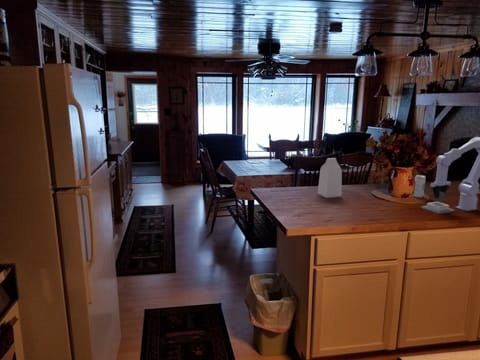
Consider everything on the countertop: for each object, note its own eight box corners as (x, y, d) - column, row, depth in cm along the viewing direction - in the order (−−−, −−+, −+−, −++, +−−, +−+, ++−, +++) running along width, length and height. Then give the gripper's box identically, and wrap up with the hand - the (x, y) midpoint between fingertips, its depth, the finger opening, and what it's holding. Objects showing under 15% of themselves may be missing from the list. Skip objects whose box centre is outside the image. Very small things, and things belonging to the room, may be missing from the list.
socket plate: (435, 205, 232) (436, 200, 231) (454, 211, 220) (455, 205, 220) (420, 208, 227) (421, 202, 226) (439, 214, 215) (439, 208, 215)
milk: (332, 192, 264) (334, 156, 259) (341, 196, 254) (343, 159, 248) (317, 193, 261) (319, 157, 255) (326, 197, 250) (328, 160, 244)
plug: (437, 198, 225) (438, 191, 224) (443, 200, 221) (444, 192, 220) (433, 199, 223) (434, 191, 222) (438, 201, 220) (439, 193, 219)
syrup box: (414, 194, 257) (416, 174, 254) (423, 196, 254) (426, 175, 250) (412, 196, 253) (414, 176, 250) (421, 198, 249) (423, 177, 246)
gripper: (444, 173, 225) (441, 194, 228) (427, 175, 220) (424, 197, 223) (454, 175, 219) (451, 197, 222) (437, 177, 213) (434, 200, 216)
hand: (438, 197), depth 222 cm, fingers closed on plug, 4 cm apart
